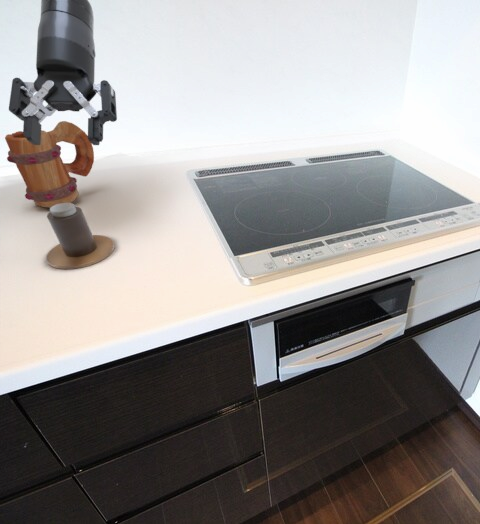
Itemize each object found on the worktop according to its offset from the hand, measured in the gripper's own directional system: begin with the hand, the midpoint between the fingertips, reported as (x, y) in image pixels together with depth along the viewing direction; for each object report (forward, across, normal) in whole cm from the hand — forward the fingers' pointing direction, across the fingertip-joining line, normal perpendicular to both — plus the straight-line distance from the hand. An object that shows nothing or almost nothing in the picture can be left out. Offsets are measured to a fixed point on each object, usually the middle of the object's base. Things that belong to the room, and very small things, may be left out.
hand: (64, 143), depth 58 cm
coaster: (+16, 0, +7) cm, 18 cm away
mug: (+1, -10, +23) cm, 25 cm away
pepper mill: (+16, 0, +6) cm, 17 cm away
